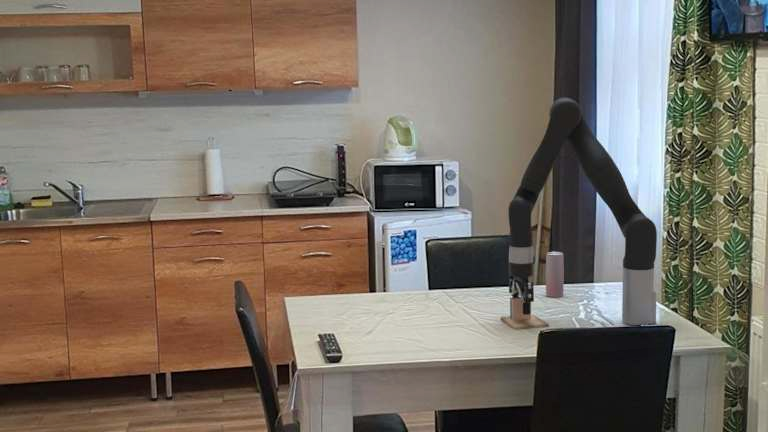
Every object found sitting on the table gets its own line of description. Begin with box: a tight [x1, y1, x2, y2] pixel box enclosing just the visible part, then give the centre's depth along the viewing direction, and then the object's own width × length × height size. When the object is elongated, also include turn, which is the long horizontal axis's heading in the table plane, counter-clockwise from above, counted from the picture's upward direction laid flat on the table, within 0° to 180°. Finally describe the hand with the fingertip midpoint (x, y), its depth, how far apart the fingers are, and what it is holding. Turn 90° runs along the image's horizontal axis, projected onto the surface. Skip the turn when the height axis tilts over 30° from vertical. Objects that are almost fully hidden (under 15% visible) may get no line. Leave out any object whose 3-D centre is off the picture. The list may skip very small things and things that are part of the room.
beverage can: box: [545, 251, 565, 298], centre depth 327 cm, size 6×6×15 cm
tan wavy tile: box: [500, 314, 550, 330], centre depth 293 cm, size 11×12×1 cm
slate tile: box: [509, 296, 532, 320], centre depth 295 cm, size 6×2×7 cm, turn 104°
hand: (521, 311), depth 295 cm, fingers open, 8 cm apart
